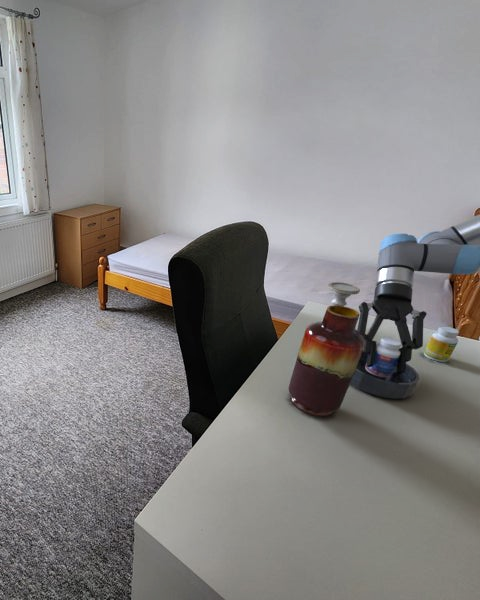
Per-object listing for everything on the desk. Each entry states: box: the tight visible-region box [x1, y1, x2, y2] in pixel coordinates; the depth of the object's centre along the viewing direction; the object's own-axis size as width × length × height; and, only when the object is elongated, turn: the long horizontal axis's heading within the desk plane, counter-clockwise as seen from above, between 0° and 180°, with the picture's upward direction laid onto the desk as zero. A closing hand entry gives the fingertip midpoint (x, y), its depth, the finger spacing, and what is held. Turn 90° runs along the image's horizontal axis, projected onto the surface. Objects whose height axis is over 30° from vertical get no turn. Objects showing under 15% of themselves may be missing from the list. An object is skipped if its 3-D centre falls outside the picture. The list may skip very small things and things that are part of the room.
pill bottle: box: [365, 336, 402, 377], centre depth 88 cm, size 6×5×10 cm
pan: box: [350, 349, 421, 400], centre depth 91 cm, size 15×15×5 cm
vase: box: [288, 304, 365, 418], centre depth 79 cm, size 11×11×26 cm
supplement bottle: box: [423, 325, 460, 363], centre depth 99 cm, size 5×5×10 cm
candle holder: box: [321, 281, 361, 321], centre depth 104 cm, size 9×9×20 cm
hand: (385, 369), depth 86 cm, fingers closed on pill bottle, 5 cm apart
